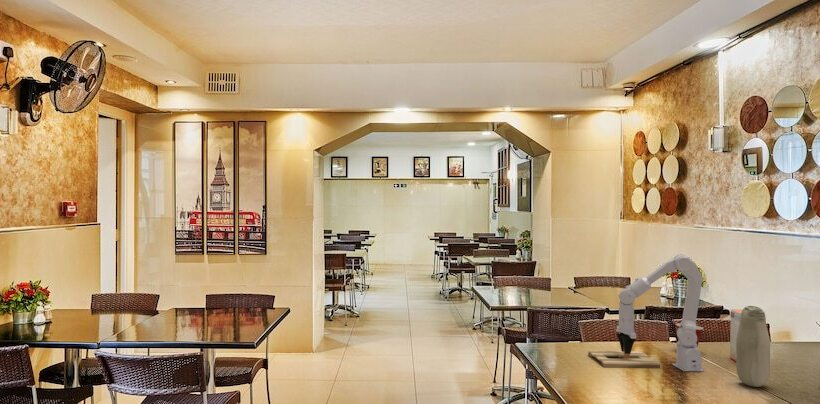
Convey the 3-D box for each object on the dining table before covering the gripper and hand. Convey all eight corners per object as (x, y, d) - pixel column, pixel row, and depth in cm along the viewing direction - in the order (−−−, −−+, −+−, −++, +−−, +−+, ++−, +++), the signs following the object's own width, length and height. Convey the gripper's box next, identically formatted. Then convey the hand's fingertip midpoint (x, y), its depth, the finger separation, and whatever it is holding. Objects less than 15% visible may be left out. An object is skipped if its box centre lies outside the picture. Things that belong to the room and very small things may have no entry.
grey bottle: (774, 391, 190) (775, 309, 190) (742, 388, 192) (742, 307, 192) (762, 382, 200) (763, 304, 200) (731, 380, 202) (732, 303, 202)
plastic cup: (708, 356, 236) (708, 328, 236) (682, 355, 236) (682, 327, 237) (695, 349, 247) (695, 322, 247) (671, 349, 247) (671, 322, 247)
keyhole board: (660, 368, 216) (660, 362, 216) (604, 367, 216) (604, 362, 216) (639, 356, 234) (639, 351, 234) (588, 355, 234) (588, 350, 234)
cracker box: (759, 368, 219) (759, 315, 219) (742, 367, 220) (742, 314, 220) (745, 359, 232) (745, 309, 233) (729, 358, 234) (729, 308, 234)
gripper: (609, 315, 232) (609, 348, 232) (624, 322, 218) (623, 357, 218) (626, 315, 232) (626, 348, 232) (641, 322, 218) (641, 357, 218)
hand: (626, 352), depth 225 cm, fingers closed on keyhole peg, 2 cm apart
